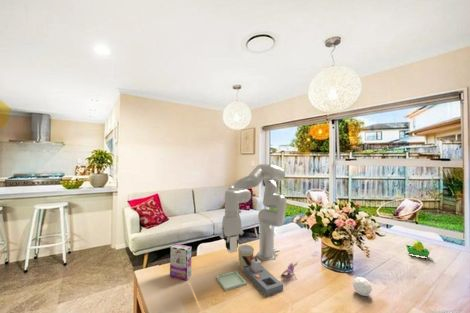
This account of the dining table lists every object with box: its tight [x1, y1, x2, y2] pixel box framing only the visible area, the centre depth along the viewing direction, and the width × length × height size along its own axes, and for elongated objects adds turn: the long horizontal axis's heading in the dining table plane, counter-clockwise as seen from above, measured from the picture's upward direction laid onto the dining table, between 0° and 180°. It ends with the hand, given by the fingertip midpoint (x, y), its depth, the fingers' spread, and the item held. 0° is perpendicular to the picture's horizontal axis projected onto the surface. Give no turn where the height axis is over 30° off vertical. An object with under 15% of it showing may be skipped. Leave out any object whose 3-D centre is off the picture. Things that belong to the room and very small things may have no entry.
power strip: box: [243, 265, 284, 297], centre depth 108 cm, size 22×10×4 cm, turn 26°
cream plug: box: [226, 235, 238, 254], centre depth 108 cm, size 4×4×10 cm
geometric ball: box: [352, 276, 373, 297], centre depth 99 cm, size 8×8×8 cm
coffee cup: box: [237, 244, 255, 271], centre depth 122 cm, size 9×9×12 cm
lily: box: [281, 261, 299, 280], centre depth 112 cm, size 12×12×10 cm
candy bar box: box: [169, 243, 193, 281], centre depth 113 cm, size 11×5×16 cm, turn 70°
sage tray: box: [216, 270, 247, 292], centre depth 108 cm, size 12×12×2 cm
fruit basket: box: [405, 240, 431, 257], centre depth 140 cm, size 11×9×11 cm
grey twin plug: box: [251, 256, 262, 274], centre depth 113 cm, size 4×4×10 cm
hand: (231, 247), depth 108 cm, fingers closed on cream plug, 4 cm apart
